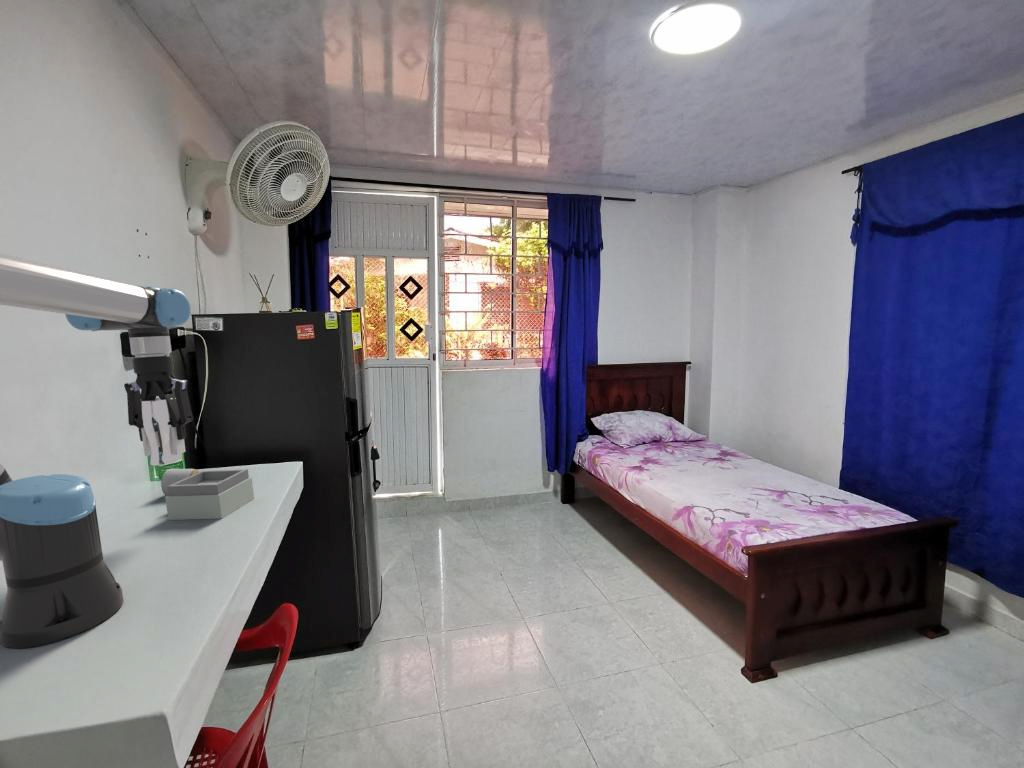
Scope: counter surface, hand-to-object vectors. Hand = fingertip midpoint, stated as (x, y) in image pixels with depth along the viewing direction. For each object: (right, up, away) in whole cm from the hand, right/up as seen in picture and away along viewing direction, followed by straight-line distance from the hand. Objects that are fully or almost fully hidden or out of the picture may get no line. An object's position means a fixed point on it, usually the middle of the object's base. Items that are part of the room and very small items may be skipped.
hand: (165, 453), depth 116 cm
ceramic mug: (-15, -16, +30) cm, 37 cm away
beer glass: (0, -2, 0) cm, 2 cm away
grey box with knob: (+1, -17, +14) cm, 22 cm away
